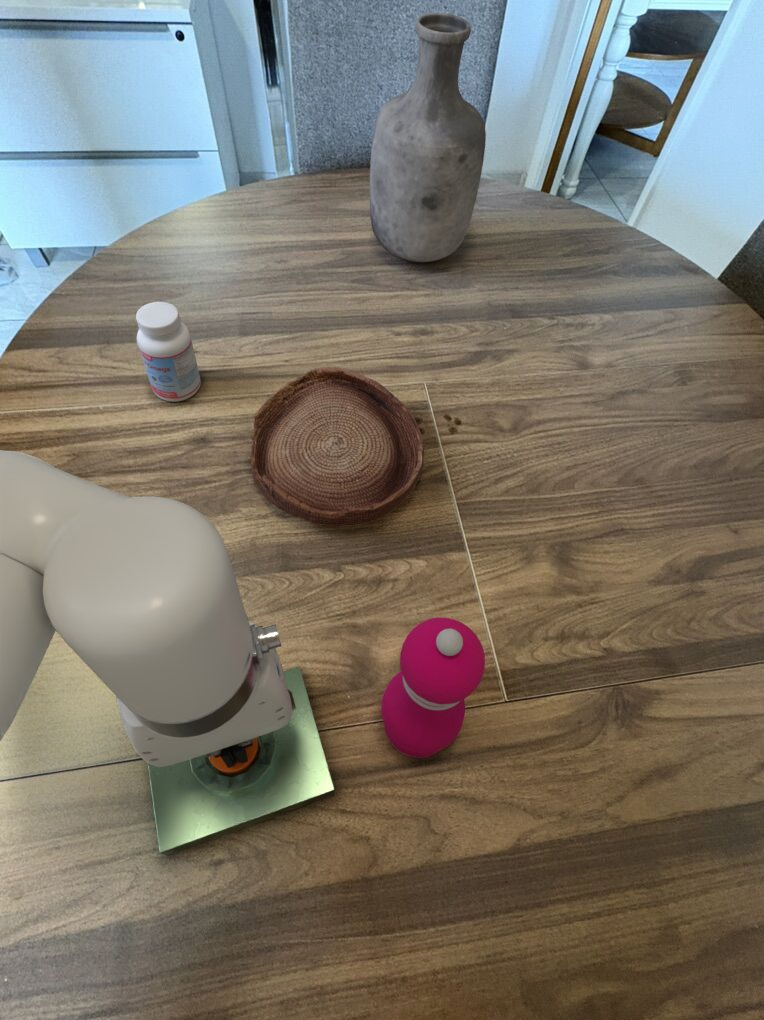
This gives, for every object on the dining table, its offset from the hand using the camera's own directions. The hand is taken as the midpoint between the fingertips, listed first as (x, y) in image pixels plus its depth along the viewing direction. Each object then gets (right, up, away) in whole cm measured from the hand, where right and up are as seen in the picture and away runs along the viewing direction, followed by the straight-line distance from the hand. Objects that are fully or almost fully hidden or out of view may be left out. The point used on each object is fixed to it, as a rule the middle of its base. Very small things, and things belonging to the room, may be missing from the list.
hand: (234, 745), depth 50 cm
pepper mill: (+15, -1, +7) cm, 17 cm away
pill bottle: (-14, +35, +29) cm, 47 cm away
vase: (+17, +61, +49) cm, 81 cm away
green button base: (-1, -3, +4) cm, 5 cm away
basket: (+6, +25, +24) cm, 35 cm away
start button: (0, -1, +1) cm, 2 cm away
